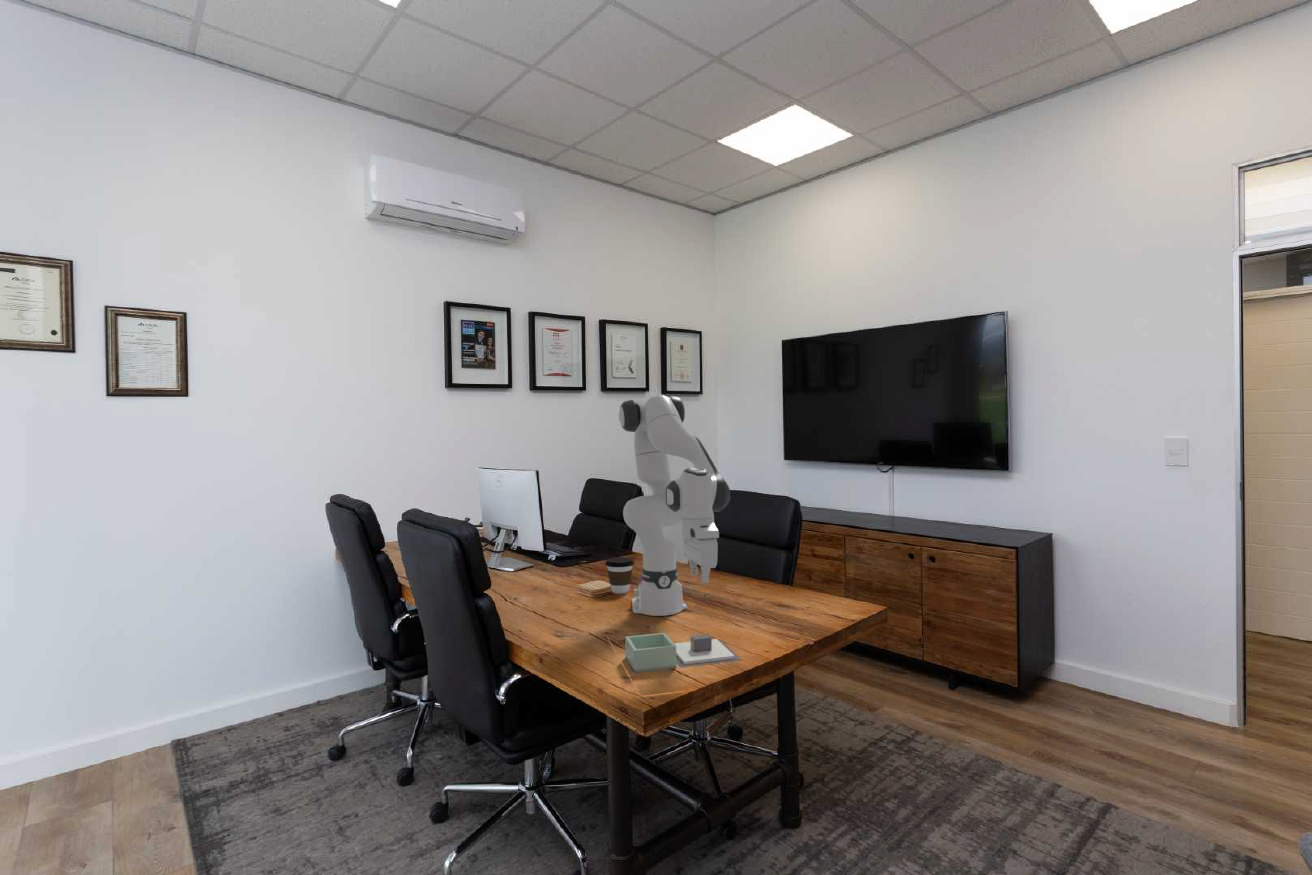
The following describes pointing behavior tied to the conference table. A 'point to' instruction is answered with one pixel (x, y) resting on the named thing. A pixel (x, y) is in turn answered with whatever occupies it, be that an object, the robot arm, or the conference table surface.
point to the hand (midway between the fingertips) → (699, 578)
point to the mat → (711, 661)
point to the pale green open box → (650, 652)
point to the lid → (702, 650)
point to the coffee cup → (620, 573)
